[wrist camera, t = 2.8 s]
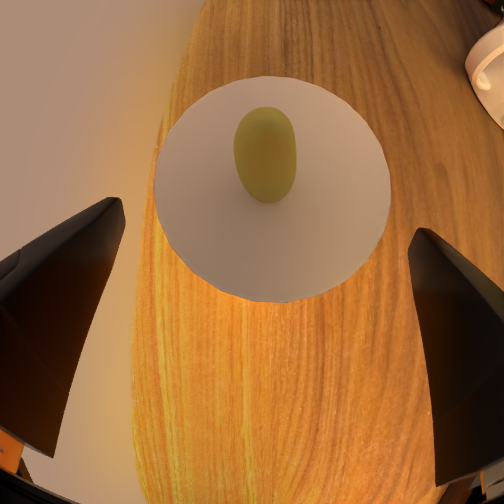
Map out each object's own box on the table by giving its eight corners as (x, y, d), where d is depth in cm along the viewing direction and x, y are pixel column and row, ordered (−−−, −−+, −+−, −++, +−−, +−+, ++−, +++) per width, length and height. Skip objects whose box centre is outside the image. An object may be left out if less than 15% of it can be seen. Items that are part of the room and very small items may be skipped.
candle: (334, 204, 19) (505, 50, 4) (288, 306, 18) (420, 410, 3) (238, 159, 19) (214, -72, 4) (188, 258, 18) (-3, 197, 3)
